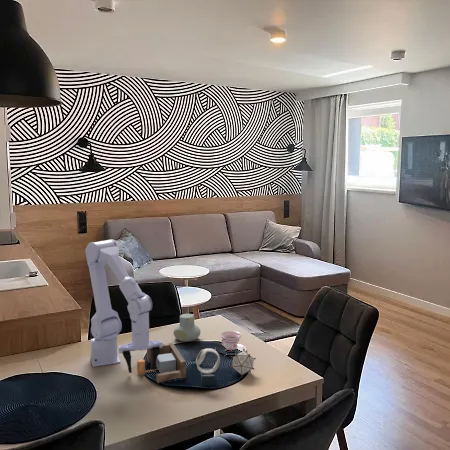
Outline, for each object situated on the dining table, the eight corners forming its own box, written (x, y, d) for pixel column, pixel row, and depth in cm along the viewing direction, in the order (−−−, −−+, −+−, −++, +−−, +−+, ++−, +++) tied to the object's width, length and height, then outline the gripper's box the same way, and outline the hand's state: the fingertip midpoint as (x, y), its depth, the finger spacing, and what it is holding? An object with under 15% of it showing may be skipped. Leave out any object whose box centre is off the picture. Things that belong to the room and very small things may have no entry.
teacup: (230, 341, 189) (230, 327, 188) (253, 350, 181) (253, 334, 180) (209, 350, 181) (209, 334, 180) (231, 359, 172) (231, 343, 172)
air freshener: (170, 339, 191) (170, 315, 190) (182, 333, 198) (182, 310, 196) (191, 345, 185) (191, 321, 184) (203, 339, 192) (203, 315, 191)
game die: (240, 381, 163) (243, 352, 168) (259, 380, 157) (261, 350, 162) (223, 375, 157) (226, 346, 162) (242, 374, 152) (244, 343, 157)
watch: (195, 377, 157) (195, 346, 156) (219, 377, 158) (219, 345, 156) (195, 385, 152) (195, 353, 150) (220, 384, 152) (220, 352, 151)
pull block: (139, 377, 157) (138, 365, 156) (135, 370, 162) (135, 358, 162) (176, 372, 161) (175, 359, 161) (171, 365, 167) (171, 353, 166)
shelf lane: (157, 383, 153) (157, 365, 153) (147, 362, 169) (146, 346, 168) (185, 378, 157) (185, 361, 156) (172, 358, 173) (172, 342, 172)
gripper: (120, 338, 152) (121, 378, 154) (164, 333, 157) (164, 371, 159) (117, 331, 158) (118, 369, 160) (159, 326, 163) (160, 363, 165)
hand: (141, 369), depth 160 cm, fingers open, 7 cm apart
